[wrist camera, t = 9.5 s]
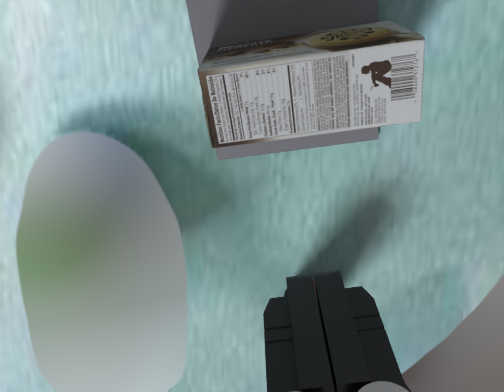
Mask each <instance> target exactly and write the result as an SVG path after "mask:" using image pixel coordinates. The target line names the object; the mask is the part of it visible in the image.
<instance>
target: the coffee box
mask: <svg viewBox="0 0 504 392" xmlns="http://www.w3.org/2000/svg"><path fill="white" fill-rule="evenodd" d="M424 50H425V39H424V37H423V36H421V35H420V34H418V33H415V32H413V31H411V30H409V29H407V28H405V27H403V26H401V25H399V24H397V23H395V22H392V21H390V20H385V21H380V22H373V23H367V24H361V25H355V26H349V27H342V28H336V29H329V30H323V31H317V32H310V33H304V34H297V35H291V36H285V37H278V38H272V39H266V40H260V41H253V42H247V43H241V44H235V45H229V46H223V47H217V48H209V50H208V52H207V53H206V55H205V57H204V59H203V61H202V63H201V65H200V67H199V68H198V75H199V80H200V85H201V89H202V94H203V95H202V98H203V105H204V111H205V117H206V122H207V128H208V132H209V137H210V141H211V146H212V148H213V149H215V148H220V147H228V146H236V145H244V144H251V143H258V142H266V141H273V140H281V139H288V138H296V137H303V136H311V135H318V134H326V133H334V132H341V131H349V130H357V129H365V128H372V127H381V126H388V125H395V124H402V123H410V122H417V121H420V120H421V116H422V93H423V72H424Z"/></svg>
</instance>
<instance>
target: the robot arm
mask: <svg viewBox="0 0 504 392" xmlns="http://www.w3.org/2000/svg"><path fill="white" fill-rule="evenodd" d="M313 275H314V284H315V289H314V284H313V279H312V275H311V274H308V275H300V276H293V277H286V281H287V289H288V296H285V297H277V298H270V300H269V302H268V304H267V307H266V309H265V311H264V313H263V314H264V331H265V332H264V335H265V357H266V378H267V392H411V391H410V389H409V388H408V387H407V385H406V384H405V383H404V380H403V378H402V375H401V372H400V370H399V367H398V364H397V361H396V358H395V356H394V353H393V350H392V347H391V345H390V342H389V339H388V336H387V333H386V331H385V329H384V325H383V322H382V320H381V317H380V314H379V311H378V308H377V306H376V303H375V300H374V298H373V297H372V296H371V295H370V294H369V293H368V292H367V291H366V290H365V289H364V288H363V287H362V286H360V287H352V288H344V284H343V281H342V277H341V274H340V271H339V270H336V271H329V272H322V273H314V274H313ZM315 292H316V294H315Z"/></svg>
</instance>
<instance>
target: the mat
mask: <svg viewBox="0 0 504 392" xmlns="http://www.w3.org/2000/svg"><path fill="white" fill-rule="evenodd" d="M186 3H187V8H188V13H189V18H190V23H191V28H192V33H193V38H194V43H195V48H196V53H197V58H198V63H199V67H200V65H201V63H202V61H203V59H204V57H205V55H206V53H207V52H208V50H209V48H217V47H223V46H229V45H235V44H241V43H247V42H253V41H260V40H266V39H272V38H278V37H285V36H291V35H297V34H304V33H310V32H317V31H323V30H329V29H336V28H342V27H349V26H355V25H361V24H367V23H373V22H378V0H186ZM376 139H378V127H372V128H365V129H357V130H349V131H341V132H334V133H326V134H318V135H311V136H303V137H296V138H288V139H281V140H273V141H266V142H258V143H251V144H244V145H236V146H228V147H220V148H216V153H217V158H218V160H224V159H232V158H239V157H247V156H255V155H262V154H270V153H277V152H285V151H293V150H300V149H308V148H315V147H323V146H331V145H338V144H346V143H354V142H361V141H369V140H376Z"/></svg>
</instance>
